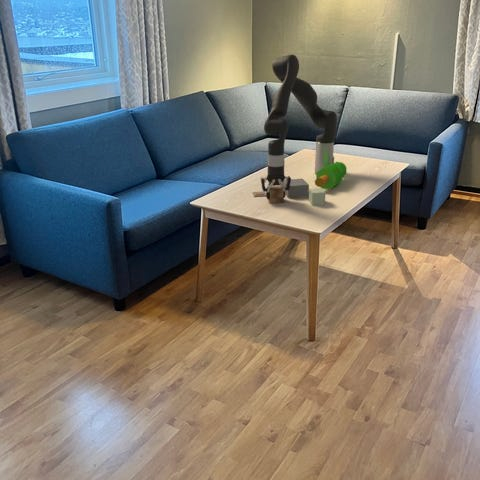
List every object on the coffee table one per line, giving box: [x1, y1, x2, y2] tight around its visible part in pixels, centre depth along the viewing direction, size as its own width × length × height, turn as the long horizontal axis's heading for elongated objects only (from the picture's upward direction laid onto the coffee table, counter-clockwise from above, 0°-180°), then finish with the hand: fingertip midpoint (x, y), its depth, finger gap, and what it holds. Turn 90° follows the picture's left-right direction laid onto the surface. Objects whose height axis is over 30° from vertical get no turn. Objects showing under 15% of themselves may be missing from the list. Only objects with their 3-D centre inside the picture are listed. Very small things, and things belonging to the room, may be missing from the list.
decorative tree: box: [314, 161, 348, 190], centre depth 263 cm, size 11×12×30 cm
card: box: [252, 190, 266, 198], centre depth 253 cm, size 6×6×1 cm
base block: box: [282, 178, 310, 199], centre depth 252 cm, size 10×10×6 cm
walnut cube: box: [268, 185, 284, 204], centre depth 243 cm, size 6×6×6 cm
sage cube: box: [308, 187, 327, 206], centre depth 240 cm, size 6×6×6 cm
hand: (275, 198), depth 244 cm, fingers closed on walnut cube, 6 cm apart
